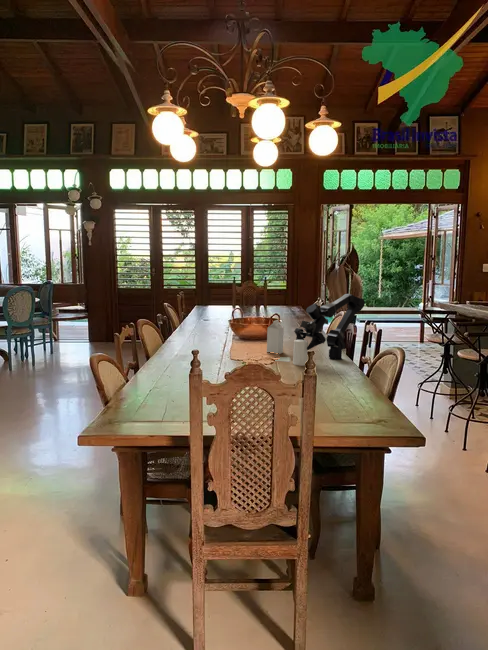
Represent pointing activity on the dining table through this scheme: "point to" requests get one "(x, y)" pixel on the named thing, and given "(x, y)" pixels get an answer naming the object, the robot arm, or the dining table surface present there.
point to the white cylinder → (300, 352)
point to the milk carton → (275, 337)
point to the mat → (284, 359)
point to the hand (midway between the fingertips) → (301, 347)
